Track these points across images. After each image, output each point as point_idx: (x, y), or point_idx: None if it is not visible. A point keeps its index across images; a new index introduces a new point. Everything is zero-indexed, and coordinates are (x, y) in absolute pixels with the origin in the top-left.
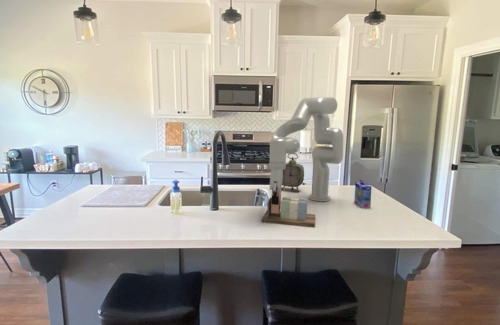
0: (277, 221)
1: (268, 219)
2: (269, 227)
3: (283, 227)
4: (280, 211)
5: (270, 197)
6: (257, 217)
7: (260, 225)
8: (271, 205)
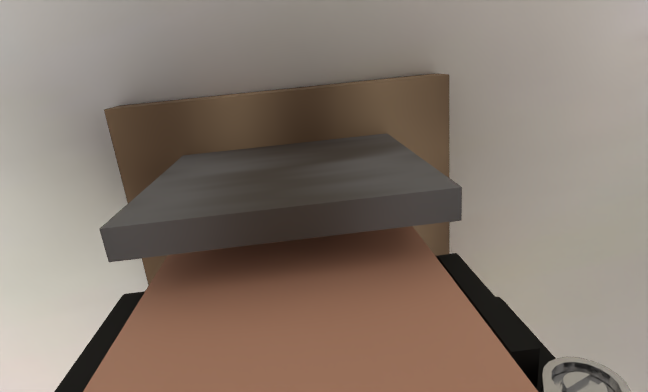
0: (151, 277)
1: (125, 189)
2: (14, 225)
3: (90, 337)
4: (446, 241)
5: (458, 193)
6: (244, 8)
7: (11, 123)
8: (161, 267)
